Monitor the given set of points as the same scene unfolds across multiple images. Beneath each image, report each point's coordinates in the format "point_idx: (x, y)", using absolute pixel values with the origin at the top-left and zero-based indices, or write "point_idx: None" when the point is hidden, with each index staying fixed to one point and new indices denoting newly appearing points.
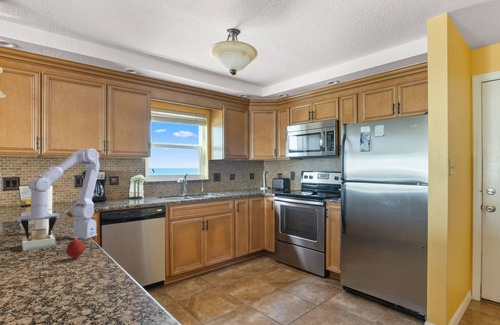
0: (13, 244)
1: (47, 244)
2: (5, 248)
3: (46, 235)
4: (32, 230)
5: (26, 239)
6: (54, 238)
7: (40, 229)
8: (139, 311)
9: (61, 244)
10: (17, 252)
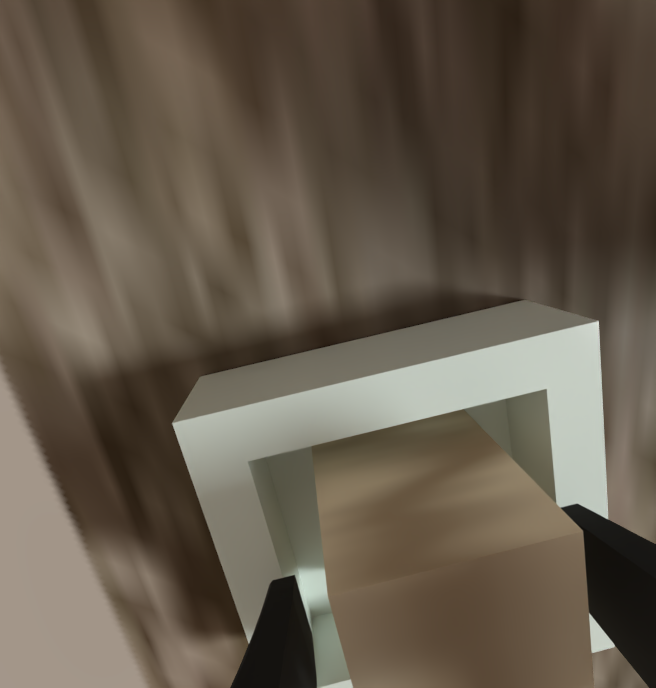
0: (47, 218)
1: None
2: (38, 426)
3: (513, 396)
4: (363, 660)
5: (274, 568)
6: (604, 646)
7: (498, 617)
8: None
9: (607, 499)
10: (241, 648)
